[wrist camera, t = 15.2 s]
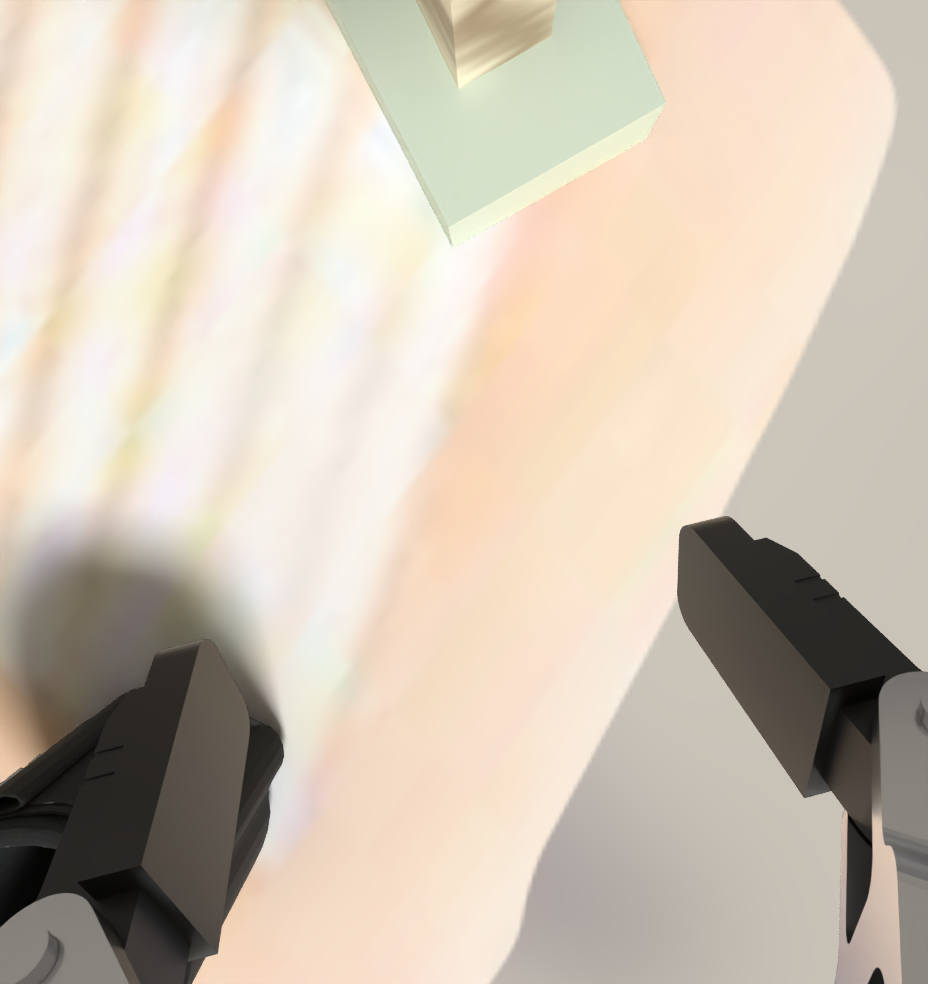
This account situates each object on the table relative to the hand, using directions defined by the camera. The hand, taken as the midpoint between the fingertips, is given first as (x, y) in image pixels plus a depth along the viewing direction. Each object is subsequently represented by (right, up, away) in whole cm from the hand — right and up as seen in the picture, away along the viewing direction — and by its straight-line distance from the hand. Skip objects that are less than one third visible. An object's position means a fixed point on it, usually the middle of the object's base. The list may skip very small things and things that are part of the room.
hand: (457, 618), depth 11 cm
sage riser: (+1, +26, +23) cm, 35 cm away
